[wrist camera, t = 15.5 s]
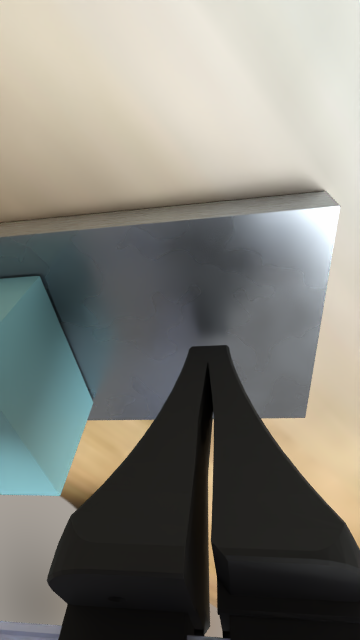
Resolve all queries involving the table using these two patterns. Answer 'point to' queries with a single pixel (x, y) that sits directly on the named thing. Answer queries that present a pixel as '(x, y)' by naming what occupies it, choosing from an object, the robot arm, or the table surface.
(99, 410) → the press bed
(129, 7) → the table surface
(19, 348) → the block
